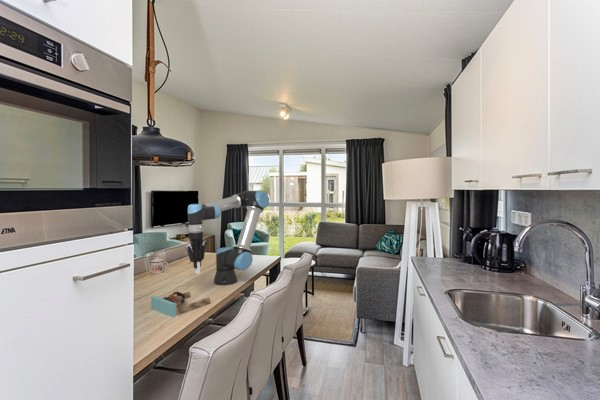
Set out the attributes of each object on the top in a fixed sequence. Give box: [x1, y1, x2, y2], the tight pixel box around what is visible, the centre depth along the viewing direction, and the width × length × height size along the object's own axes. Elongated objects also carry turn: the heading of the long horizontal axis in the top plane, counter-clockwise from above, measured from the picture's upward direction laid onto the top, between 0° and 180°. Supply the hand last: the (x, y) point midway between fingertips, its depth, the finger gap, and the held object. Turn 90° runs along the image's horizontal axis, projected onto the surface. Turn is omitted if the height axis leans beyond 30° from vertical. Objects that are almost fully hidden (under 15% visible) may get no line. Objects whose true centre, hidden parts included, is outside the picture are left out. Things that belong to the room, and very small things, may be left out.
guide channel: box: [170, 291, 211, 317], centre depth 160 cm, size 20×19×3 cm
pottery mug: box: [161, 291, 186, 308], centre depth 158 cm, size 12×10×8 cm
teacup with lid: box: [150, 256, 169, 275], centre depth 229 cm, size 12×9×12 cm
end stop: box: [150, 295, 177, 318], centre depth 151 cm, size 2×19×6 cm, turn 55°
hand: (197, 273), depth 171 cm, fingers closed
